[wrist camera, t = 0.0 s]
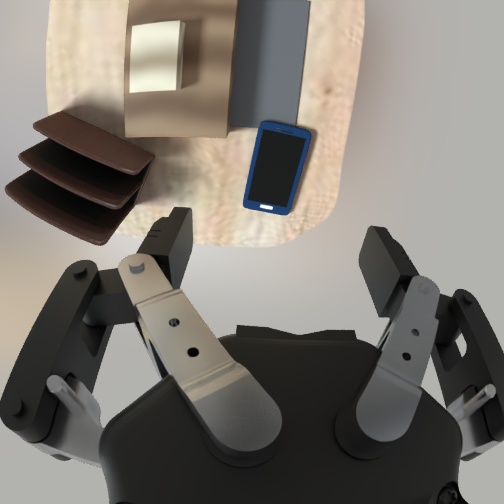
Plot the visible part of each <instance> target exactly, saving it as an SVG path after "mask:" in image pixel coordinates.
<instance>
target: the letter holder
mask: <svg viewBox="0 0 504 504" xmlns="http://www.w3.org/2000/svg"><path fill="white" fill-rule="evenodd" d="M33 128H34V129H35V130H37V131H38V132H40V133H41V134H43V135H45V136H46V137H48V139H46V140H44V141H42V142H40V143H38V144H36V145H35V146H33V147H31V148H29V149H27V150H25V151H23V152H22V153H20V154H19V156H18V157H19V160H20V161H22V162H23V163H24V164H25V165H27V166H28V167H29V168H31V170H29V171H27V172H26V173H24V174H23V175H21V176H19V177H18V178H16V179H15V180H13V181H12V182H10V183H9V184H8V185H6V187H5V191H6V194H7V195H8V196H10V197H11V198H12V199H13V200H14V201H15V202H17V203H18V204H19V205H21V206H22V207H23V208H25V209H26V210H28V211H30V212H31V213H32V214H34V215H35V216H37V217H39V218H41V219H42V220H44V221H46V222H47V223H49V224H51V225H53V226H55V227H57V228H59V229H61V230H63V231H65V232H67V233H69V234H71V235H73V236H75V237H78V238H80V239H82V240H84V241H87V242H89V243H92V244H94V245H98V246H101V245H104V244H106V243H107V242H108V240H109V239H110V237H111V236H112V235H113V233H114V232H115V231H116V229H117V228H118V226H119V225H120V224H121V222H122V221H123V220H124V219H125V217H126V216H127V215H128V214H129V212H130V211H131V210H132V209H133V208H134V206H135V205H136V202H137V199H138V197H139V194H140V192H141V189H142V187H143V184H144V182H145V179H146V177H147V175H148V172H149V170H150V167H151V165H152V163H153V160H154V158H155V155H154V154H151V153H149V152H147V151H145V150H143V149H141V148H139V147H137V146H135V145H133V144H131V143H129V142H126V141H124V140H122V139H120V138H118V137H116V136H114V135H112V134H110V133H108V132H105V131H103V130H101V129H99V128H97V127H95V126H92V125H90V124H88V123H86V122H83V121H81V120H79V119H77V118H74V117H72V116H70V115H67V114H65V113H63V112H57V113H55V114H53V115H50V116H48V117H46V118H43V119H41V120H39V121H37V122H35V123H34V124H33Z"/></svg>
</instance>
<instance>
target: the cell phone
mask: <svg viewBox="0 0 504 504" xmlns="http://www.w3.org/2000/svg"><path fill="white" fill-rule="evenodd" d="M310 139H311V133H310V132H309V131H308V130H306V129H302V128H298V127H293V126H289V125H285V124H281V123H276V122H271V121H262V122H261V123H260V125H259V129H258V133H257V137H256V142H255V147H254V151H253V156H252V161H251V165H250V170H249V175H248V180H247V184H246V189H245V194H244V199H243V206H244V207H245V208H248V209H252V210H258V211H263V212H268V213H273V214H278V215H288V214H289V211H290V209H291V206H292V202H293V199H294V195H295V192H296V189H297V185H298V182H299V178H300V175H301V172H302V168H303V165H304V161H305V158H306V154H307V151H308V147H309V144H310Z"/></svg>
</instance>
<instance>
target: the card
mask: <svg viewBox="0 0 504 504" xmlns="http://www.w3.org/2000/svg"><path fill="white" fill-rule="evenodd" d="M184 35H185V23H184V22H182V21H180V20H179V21H167V22H158V23H150V24H143V25H136V26H132V36H131V52H130V93H135V92H148V91H165V90H178V89H181V84H182V64H183V48H184Z"/></svg>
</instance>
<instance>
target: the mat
mask: <svg viewBox="0 0 504 504" xmlns="http://www.w3.org/2000/svg"><path fill="white" fill-rule="evenodd" d="M309 2H310V1H307V0H240V7H239V17H238V27H237V37H236V48H235V60H234V72H233V84H232V98H231V112H230V126H241V127H254V128H259V125H260V123H261V122H262V121H271V122H276V123H281V124H285V125H289V126H293V127H295V124H296V116H297V108H298V100H299V92H300V84H301V76H302V68H303V59H304V50H305V41H306V32H307V22H308V12H309Z"/></svg>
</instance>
